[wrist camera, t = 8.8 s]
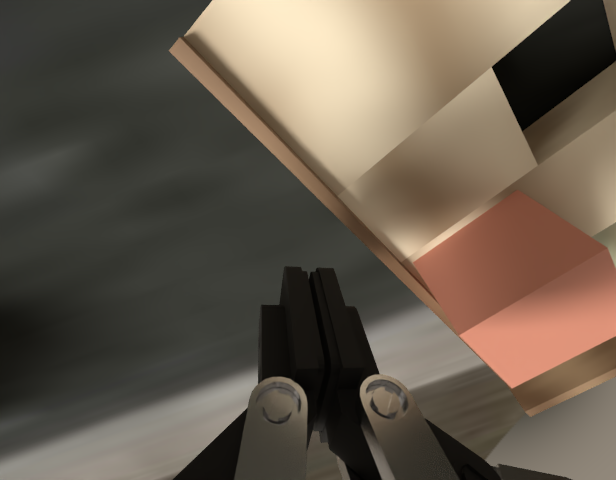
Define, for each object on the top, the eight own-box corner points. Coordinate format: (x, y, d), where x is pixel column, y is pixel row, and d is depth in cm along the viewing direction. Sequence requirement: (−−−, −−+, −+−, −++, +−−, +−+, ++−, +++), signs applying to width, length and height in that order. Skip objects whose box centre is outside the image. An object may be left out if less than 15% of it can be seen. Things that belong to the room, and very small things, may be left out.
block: (517, 189, 14) (607, 248, 11) (554, 258, 17) (637, 324, 13) (412, 262, 16) (458, 335, 12) (461, 315, 19) (511, 388, 15)
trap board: (553, -406, 8) (871, -874, 4) (681, 243, 21) (784, 297, 17) (188, 45, 12) (150, 56, 8) (486, 352, 25) (530, 416, 21)
